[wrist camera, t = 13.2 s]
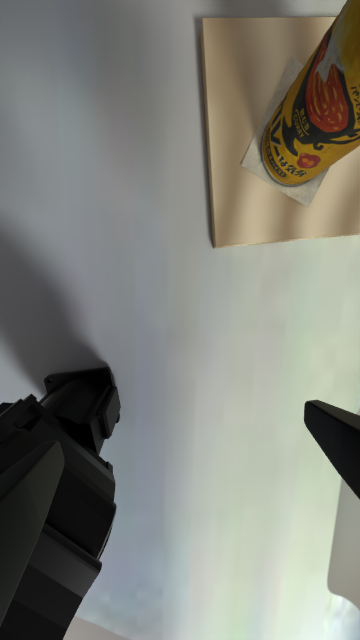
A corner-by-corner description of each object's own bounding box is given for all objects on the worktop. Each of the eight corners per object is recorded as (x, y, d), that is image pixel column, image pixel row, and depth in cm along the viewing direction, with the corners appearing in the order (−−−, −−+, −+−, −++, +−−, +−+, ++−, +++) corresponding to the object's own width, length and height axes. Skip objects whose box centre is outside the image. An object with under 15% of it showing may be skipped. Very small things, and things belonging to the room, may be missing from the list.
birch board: (213, 248, 18) (215, 246, 17) (200, 35, 15) (202, 17, 14) (364, 233, 19) (375, 231, 18) (384, 32, 16) (399, 16, 15)
